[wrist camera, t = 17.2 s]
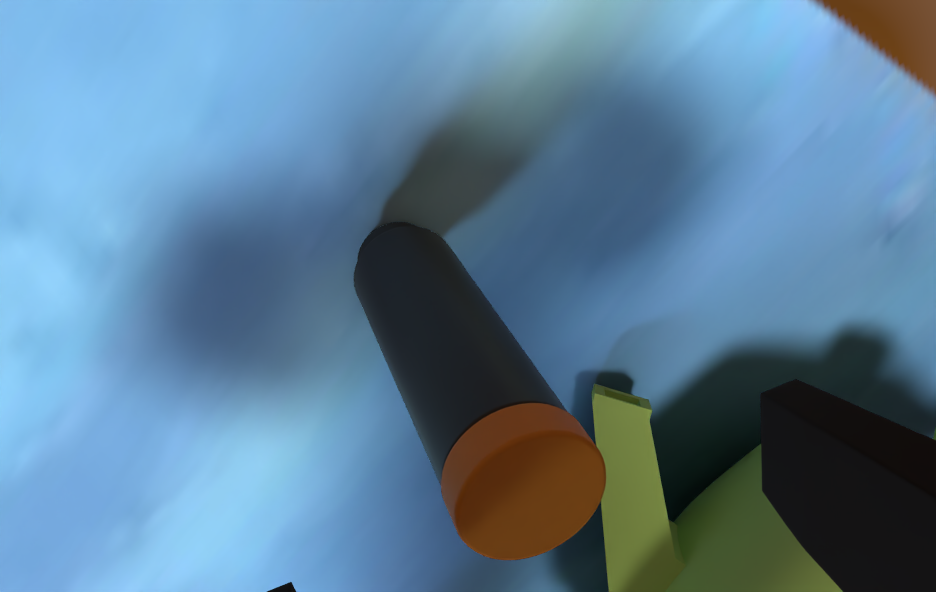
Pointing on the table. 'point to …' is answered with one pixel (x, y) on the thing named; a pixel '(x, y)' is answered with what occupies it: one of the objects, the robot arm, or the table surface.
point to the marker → (476, 400)
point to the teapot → (690, 519)
